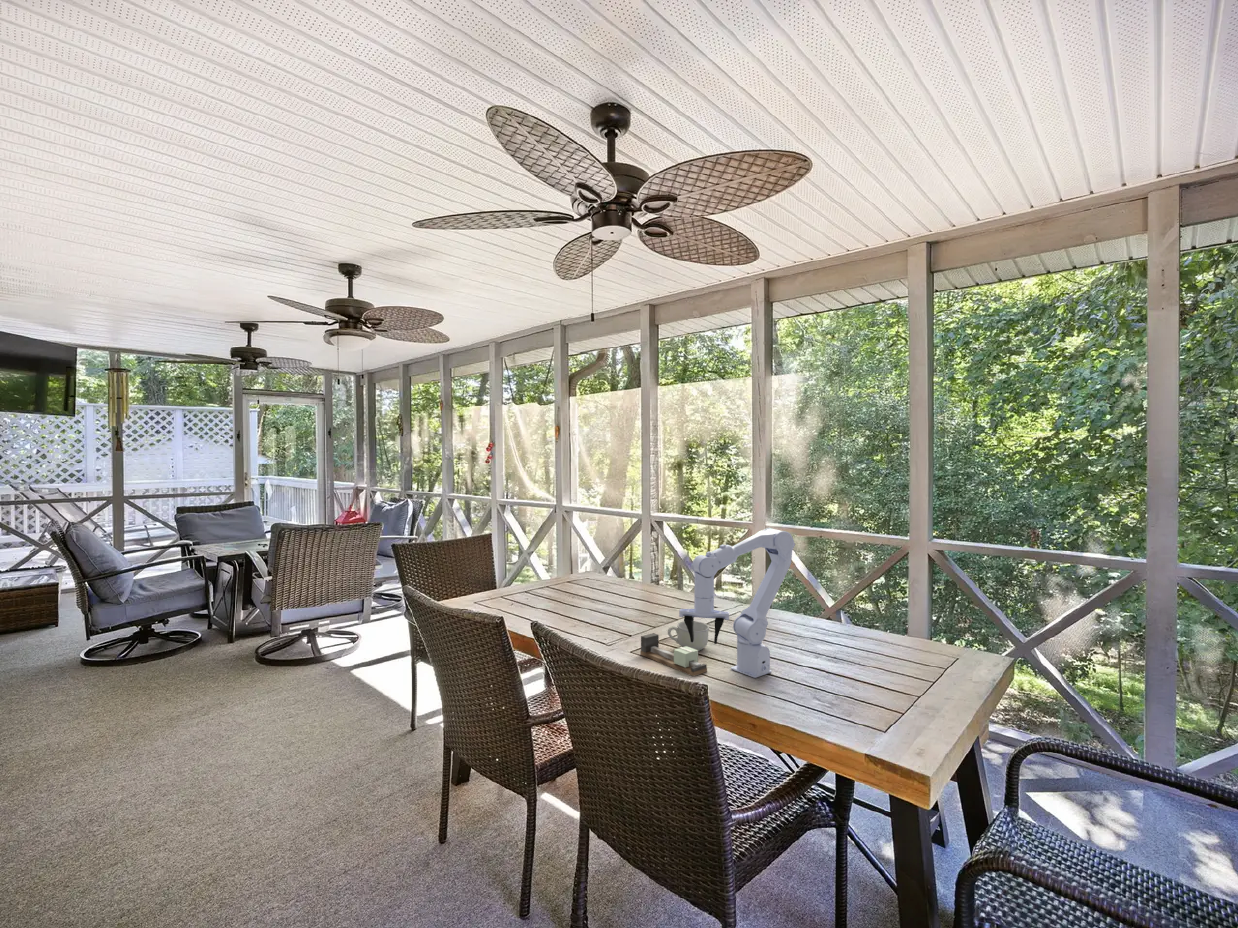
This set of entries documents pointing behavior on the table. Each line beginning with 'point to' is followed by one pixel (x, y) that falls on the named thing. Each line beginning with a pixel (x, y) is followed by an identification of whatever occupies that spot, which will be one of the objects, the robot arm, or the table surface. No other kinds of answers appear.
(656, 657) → the rail
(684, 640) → the teacup
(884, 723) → the table surface
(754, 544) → the robot arm
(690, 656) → the carriage
